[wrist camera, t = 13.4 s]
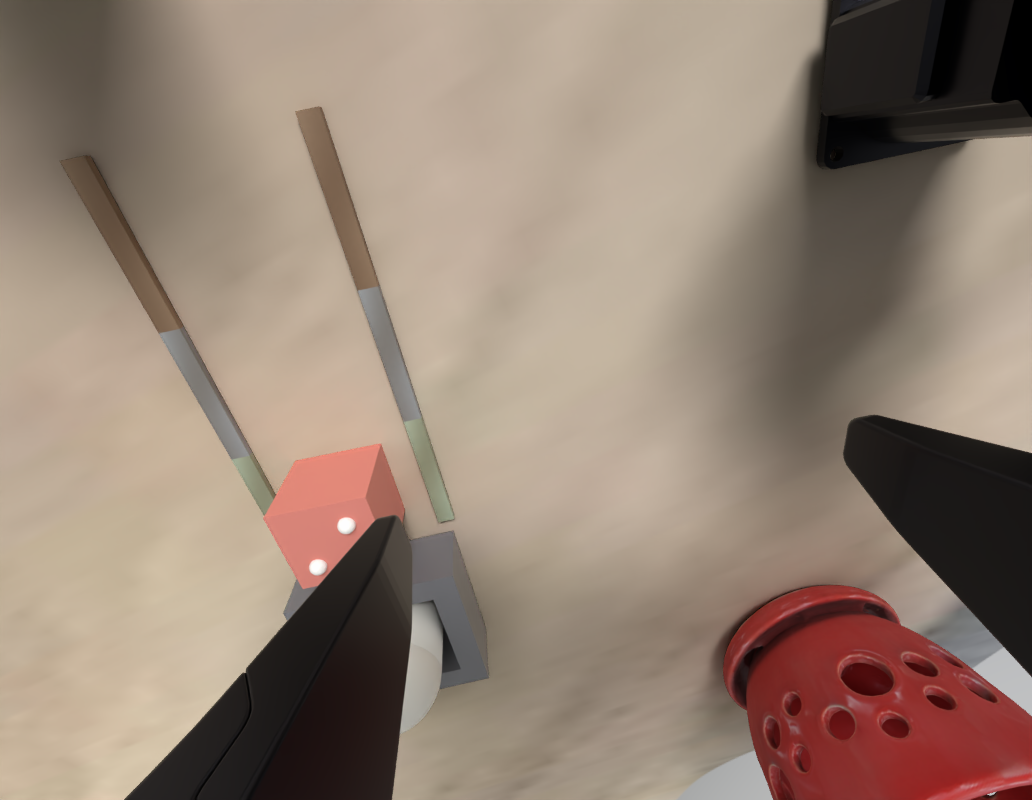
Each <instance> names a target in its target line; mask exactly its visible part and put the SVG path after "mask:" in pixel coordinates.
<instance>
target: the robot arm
mask: <svg viewBox="0 0 1032 800" xmlns="http://www.w3.org/2000/svg"><path fill="white" fill-rule="evenodd" d="M1021 136H1032V0H833V3H832V13H831V22H830V28H829V31H828V41H827V51H826V60H825V70H824V80H823V90H822V100H821V119H820V129H819V139H818V148H817V164H818V165H819V167H821V168H822V169H837V168H842V167H846V166H851V165H856V164H860V163H865V162H870V161H874V160H879V159H884V158H888V157H893V156H898V155H902V154H907V153H912V152H916V151H921V150H926V149H930V148H935V147H940V146H944V145H949V144H954V143H958V142H963V141H968V140H972V139H985V138H1003V137H1021ZM834 148H835V150H836V154H835V157H834V158H833V160H831V158H830V155H831V152H832V150H833V149H834ZM843 456H844V460H845V463H846V465H847V466H848V468H849V469H850V470H851V472H852V473H853V474H854V476H855V477H856V478H857V480H858V481H859V482H860V484H861V485H862V486H863V488H864V489H865V490H866V492H867V493H868V494H869V495H870V497H871V498H872V499H873V501H874V502H875V503H876V505H877V506H878V507H879V509H880V510H881V511H882V513H883V514H884V515H885V517H886V518H887V519H888V520H889V522H890V523H891V524H892V525H893V527H894V528H895V529H896V530H897V531H898V533H899V534H900V535H901V536H902V537H903V538H904V539H905V540H906V542H907V543H908V544H909V545H910V546H911V547H912V548H913V549H914V550H915V551H916V552H917V553H918V555H919V556H920V557H921V558H922V559H923V560H924V561H925V562H926V563H927V564H928V565H929V566H930V568H931V569H932V570H933V571H934V572H935V573H936V574H937V575H938V576H939V577H940V578H941V579H942V580H943V582H944V583H945V584H946V585H947V586H948V587H949V588H950V589H951V590H952V591H953V592H954V593H955V595H956V596H957V597H958V598H959V599H960V600H961V601H962V602H963V603H964V604H965V605H966V606H967V608H968V609H969V610H970V611H971V612H972V613H973V614H974V615H975V616H976V617H977V618H978V619H979V620H980V622H981V623H982V624H983V625H984V626H985V627H986V628H987V629H988V630H989V631H990V632H991V633H992V635H993V636H994V637H995V638H996V639H997V640H998V641H999V642H1000V643H1001V644H1002V645H1003V646H1004V647H1005V649H1006V650H1007V651H1008V652H1009V653H1010V654H1011V655H1012V656H1013V657H1014V658H1015V659H1016V660H1017V662H1018V663H1019V664H1020V665H1021V666H1022V667H1023V668H1024V669H1025V670H1026V671H1027V672H1028V673H1029V675H1030V676H1031V677H1032V453H1029V452H1025V451H1021V450H1017V449H1013V448H1009V447H1005V446H1001V445H997V444H993V443H989V442H985V441H980V440H976V439H972V438H968V437H964V436H960V435H956V434H952V433H948V432H944V431H940V430H936V429H932V428H928V427H924V426H920V425H916V424H911V423H907V422H903V421H899V420H895V419H891V418H887V417H883V416H879V415H868V416H864V417H859V418H855V419H853V420H851V421H850V423H849V425H848V429H847V434H846V440H845V446H844V451H843ZM412 573H413V554H412V547H411V544H410V541H409V539H408V536H407V534H406V532H405V529H404V527H403V524H402V522H401V520H400V518H399V517H398V516H397V515H390V516H385V517H380V518H377V519H376V520H375V521H374V522H373V523H372V524H371V525H370V526H369V528H368V529H367V530H366V531H365V532H364V533H363V534H362V536H361V537H360V538H359V539H358V540H357V541H356V542H355V544H354V545H353V546H352V547H351V548H350V549H349V551H348V552H347V553H346V554H345V555H344V556H343V557H342V559H341V560H340V561H339V562H338V563H337V564H336V566H335V567H334V568H333V569H332V570H331V571H330V572H329V574H328V575H327V576H326V577H325V578H324V579H323V581H322V582H321V583H320V584H319V585H318V586H317V587H316V589H315V590H314V591H313V592H312V593H311V594H310V595H309V597H308V598H307V599H306V600H305V601H304V602H303V604H302V605H301V606H300V607H299V608H298V609H297V610H296V612H295V613H294V614H293V615H292V616H291V617H290V619H289V620H288V621H287V622H286V623H285V624H284V625H283V627H282V628H281V629H280V630H279V631H278V632H277V634H276V635H275V636H274V637H273V638H272V639H271V640H270V642H269V643H268V644H267V645H266V646H265V647H264V649H263V650H262V651H261V652H260V653H259V654H258V655H257V657H256V658H255V659H254V660H253V661H252V662H251V663H250V665H249V666H248V667H247V668H246V673H242V674H241V675H240V676H239V677H238V678H237V679H236V681H235V682H234V683H233V684H232V685H231V686H230V687H229V689H228V690H227V691H226V692H225V693H224V694H223V695H222V697H221V698H220V699H219V700H218V701H217V702H216V703H215V704H214V705H213V707H212V708H211V709H210V710H209V711H208V712H207V713H206V714H205V716H204V717H203V718H202V719H201V720H200V721H199V722H198V723H197V724H196V726H195V727H194V728H193V729H192V730H191V731H190V732H189V733H188V734H187V735H186V736H185V737H184V738H183V739H182V740H181V741H180V742H179V744H178V745H177V746H176V747H175V748H174V749H173V750H172V751H171V752H170V753H169V754H168V755H167V756H166V757H165V758H164V759H163V760H162V761H161V762H160V763H159V764H158V766H157V767H156V768H155V769H154V770H153V771H152V772H151V773H150V774H149V775H148V776H147V777H146V778H145V779H144V780H143V781H142V782H141V783H140V784H139V785H138V786H137V787H136V788H135V789H134V790H133V791H132V792H131V793H130V794H129V795H128V796H127V797H126V798H125V799H124V800H392V794H393V786H394V778H395V769H396V761H397V753H398V744H399V736H400V728H401V719H402V711H403V702H404V694H405V686H406V677H407V669H408V661H409V652H410V644H411V634H412Z"/></svg>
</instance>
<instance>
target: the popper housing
mask: <svg viewBox="0 0 1032 800" xmlns="http://www.w3.org/2000/svg"><path fill="white" fill-rule="evenodd" d="M409 541H410V544H411V547H412V554H413V573H412V604H417V603H421V602H426V601H430V600H434V603H435V605H436V608H437V610H438V613H439V615H440V618H441V620H442V623H443V652H442V675H441V684H440V688H439V689H442V688H447V687H451V686H456V685H460V684H464V683H469V682H473V681H478V680H482V679H486V678H489V670H488V653H487V636H486V627H485V624H484V621H483V618H482V615H481V612H480V609H479V606H478V603H477V600H476V597H475V594H474V591H473V588H472V585H471V582H470V579H469V576H468V573H467V570H466V567H465V564H464V561H463V558H462V555H461V552H460V549H459V546H458V543H457V540H456V537H455V534H454V531H450V532H445V533H441V534H436V535H432V536H427V537H423V538H418V539H414V540H409ZM316 587H317V586H315V587H310V588H306V589H302V587H301V585H300V583H299V582H298V580H296V582H295V585H294V588H293V590H292V593H291V595H290V598H289V600H288V603H287V605H286V608H285V610H284V613H283V614H284V616H285V617H286V619H287V620H289V619H290V617H291V616H292V615H293V614H294V613H295V612H296V610H297V609H298V608H299V607H300V606H301V605H302V604H303V602H304V601H305V600H306V599H307V598H308V597H309V595H310V594H311V593H312V592H313V591H314V590H315V589H316Z"/></svg>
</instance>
